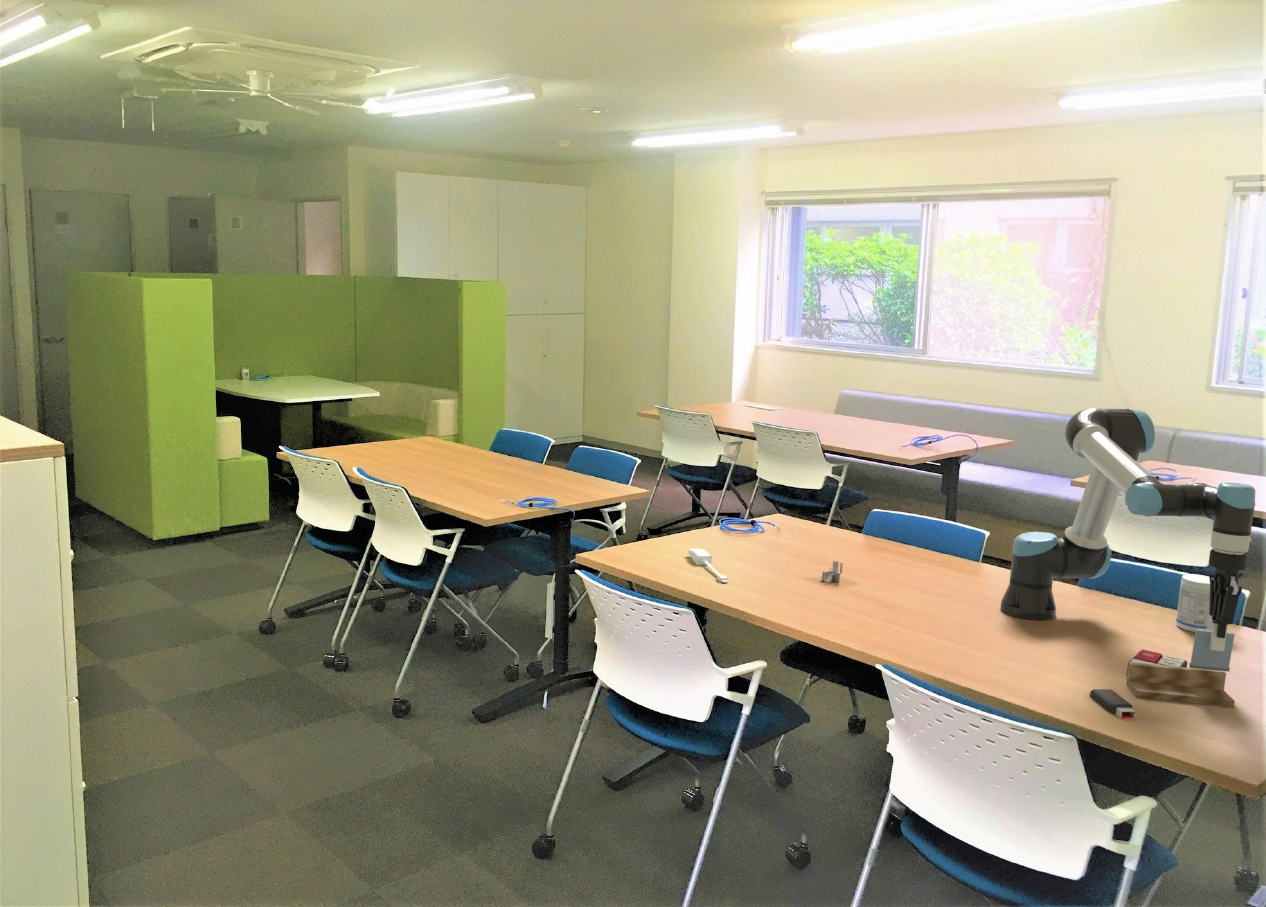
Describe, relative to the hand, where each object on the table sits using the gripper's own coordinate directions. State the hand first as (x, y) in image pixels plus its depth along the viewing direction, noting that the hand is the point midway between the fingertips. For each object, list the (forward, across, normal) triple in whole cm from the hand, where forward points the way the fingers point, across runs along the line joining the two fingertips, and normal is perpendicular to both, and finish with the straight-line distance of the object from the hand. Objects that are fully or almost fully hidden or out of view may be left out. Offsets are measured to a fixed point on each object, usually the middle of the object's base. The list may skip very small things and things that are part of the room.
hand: (1216, 649), depth 234 cm
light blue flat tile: (+1, +3, 0) cm, 3 cm away
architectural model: (+11, +66, +85) cm, 109 cm away
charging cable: (+10, +73, +126) cm, 146 cm away
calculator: (+12, +14, +8) cm, 20 cm away
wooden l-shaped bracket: (+12, 0, +7) cm, 14 cm away
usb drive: (+13, -12, +24) cm, 30 cm away
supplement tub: (+11, +56, -15) cm, 59 cm away
